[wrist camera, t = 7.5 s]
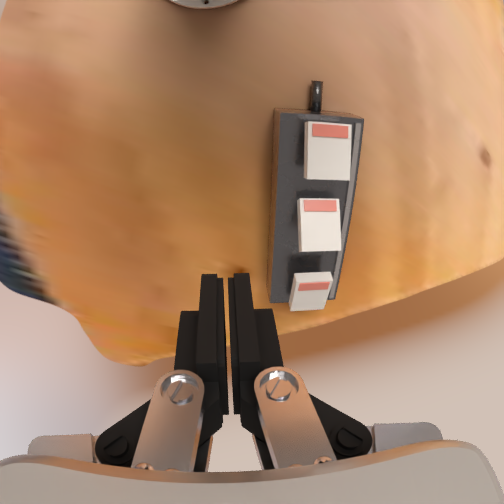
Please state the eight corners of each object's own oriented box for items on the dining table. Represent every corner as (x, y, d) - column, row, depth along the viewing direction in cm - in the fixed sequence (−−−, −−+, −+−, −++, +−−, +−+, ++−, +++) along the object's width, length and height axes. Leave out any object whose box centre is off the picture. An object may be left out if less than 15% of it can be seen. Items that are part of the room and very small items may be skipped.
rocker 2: (297, 200, 35) (300, 198, 33) (334, 200, 35) (339, 198, 34) (298, 251, 35) (302, 251, 33) (337, 250, 35) (341, 250, 34)
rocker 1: (304, 122, 29) (308, 121, 28) (346, 125, 30) (352, 124, 28) (303, 177, 31) (307, 179, 30) (344, 178, 32) (350, 180, 30)
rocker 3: (294, 273, 37) (296, 283, 36) (330, 271, 38) (333, 281, 37) (288, 302, 41) (290, 312, 40) (321, 300, 42) (323, 310, 40)
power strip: (275, 78, 31) (282, 78, 27) (352, 85, 32) (367, 87, 28) (266, 284, 46) (270, 304, 42) (327, 281, 46) (335, 300, 43)
